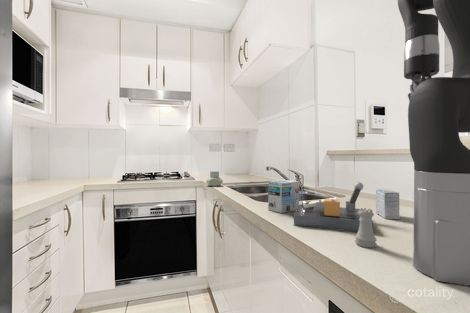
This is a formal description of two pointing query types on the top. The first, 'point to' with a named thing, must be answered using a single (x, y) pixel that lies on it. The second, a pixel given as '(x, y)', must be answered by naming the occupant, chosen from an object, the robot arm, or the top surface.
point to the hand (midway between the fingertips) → (420, 122)
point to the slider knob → (331, 207)
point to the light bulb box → (283, 195)
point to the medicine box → (387, 204)
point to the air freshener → (214, 179)
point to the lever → (356, 192)
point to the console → (328, 217)
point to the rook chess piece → (365, 229)
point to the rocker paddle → (314, 203)
